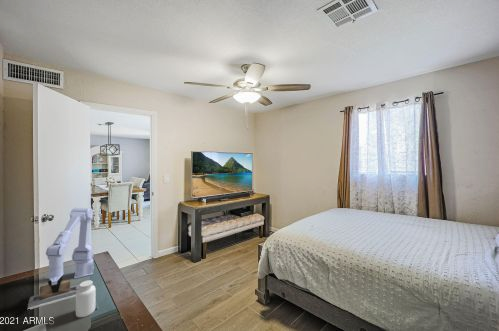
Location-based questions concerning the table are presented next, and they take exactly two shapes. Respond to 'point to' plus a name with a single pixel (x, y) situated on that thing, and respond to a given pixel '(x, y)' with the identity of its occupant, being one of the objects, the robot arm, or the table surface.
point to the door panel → (47, 291)
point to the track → (52, 298)
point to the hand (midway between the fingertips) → (55, 290)
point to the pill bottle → (85, 299)
